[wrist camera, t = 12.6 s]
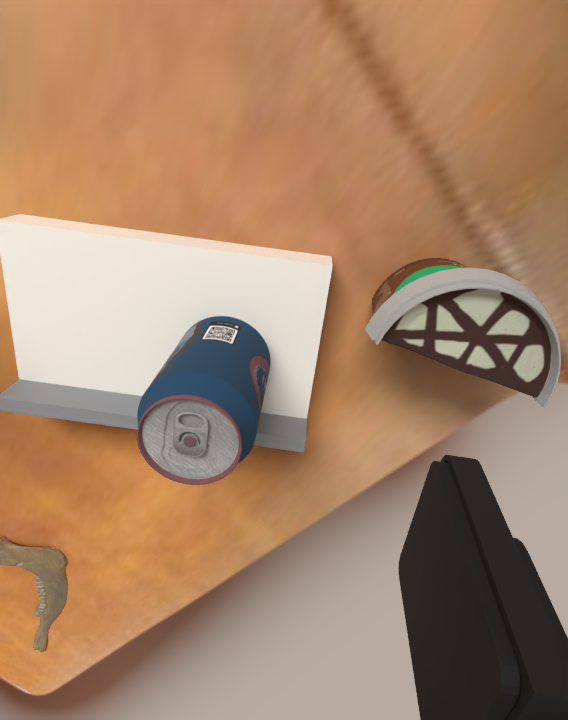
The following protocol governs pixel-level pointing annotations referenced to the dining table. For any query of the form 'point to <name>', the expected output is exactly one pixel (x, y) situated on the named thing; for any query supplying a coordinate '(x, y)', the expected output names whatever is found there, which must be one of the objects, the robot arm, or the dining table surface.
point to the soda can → (205, 402)
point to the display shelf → (150, 317)
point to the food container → (470, 324)
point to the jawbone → (40, 581)
